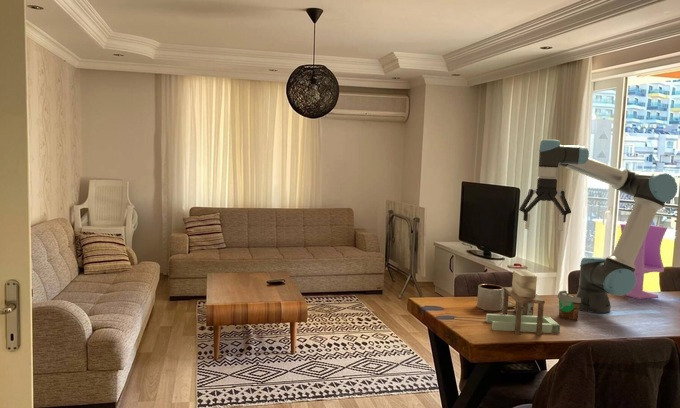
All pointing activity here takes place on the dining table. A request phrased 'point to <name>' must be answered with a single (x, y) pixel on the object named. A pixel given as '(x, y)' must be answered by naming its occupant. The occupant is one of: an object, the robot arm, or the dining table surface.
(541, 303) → the brown legged piece
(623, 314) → the dining table surface
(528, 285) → the beech block
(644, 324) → the dining table surface
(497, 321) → the pale green tray
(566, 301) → the food container
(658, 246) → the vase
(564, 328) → the dining table surface
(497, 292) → the planter
